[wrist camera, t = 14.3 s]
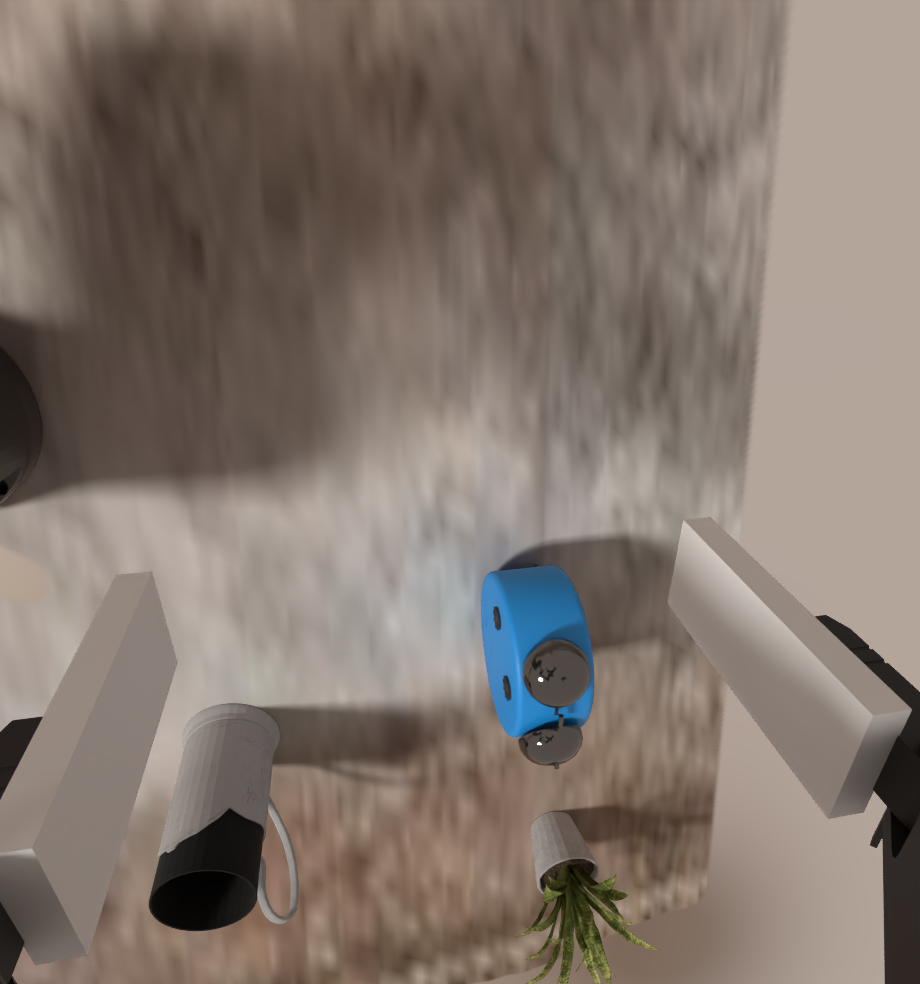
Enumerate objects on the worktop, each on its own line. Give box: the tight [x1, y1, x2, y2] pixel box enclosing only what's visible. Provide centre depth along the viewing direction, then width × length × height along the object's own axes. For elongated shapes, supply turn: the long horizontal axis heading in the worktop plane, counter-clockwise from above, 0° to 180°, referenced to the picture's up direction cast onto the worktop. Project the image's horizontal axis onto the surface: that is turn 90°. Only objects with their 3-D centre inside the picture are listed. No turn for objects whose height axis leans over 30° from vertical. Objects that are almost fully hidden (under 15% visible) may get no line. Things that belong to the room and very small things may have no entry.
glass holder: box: [149, 704, 299, 931], centre depth 54 cm, size 9×14×15 cm, turn 33°
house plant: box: [517, 812, 657, 984], centre depth 67 cm, size 14×14×16 cm
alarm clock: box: [481, 565, 594, 769], centre depth 51 cm, size 13×6×15 cm, turn 0°
